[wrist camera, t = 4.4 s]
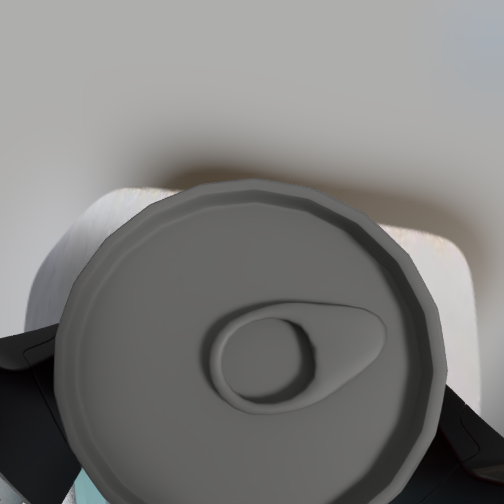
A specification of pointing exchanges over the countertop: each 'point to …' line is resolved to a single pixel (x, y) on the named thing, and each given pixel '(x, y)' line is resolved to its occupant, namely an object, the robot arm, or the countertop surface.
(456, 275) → the countertop surface
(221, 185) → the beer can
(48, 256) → the countertop surface
